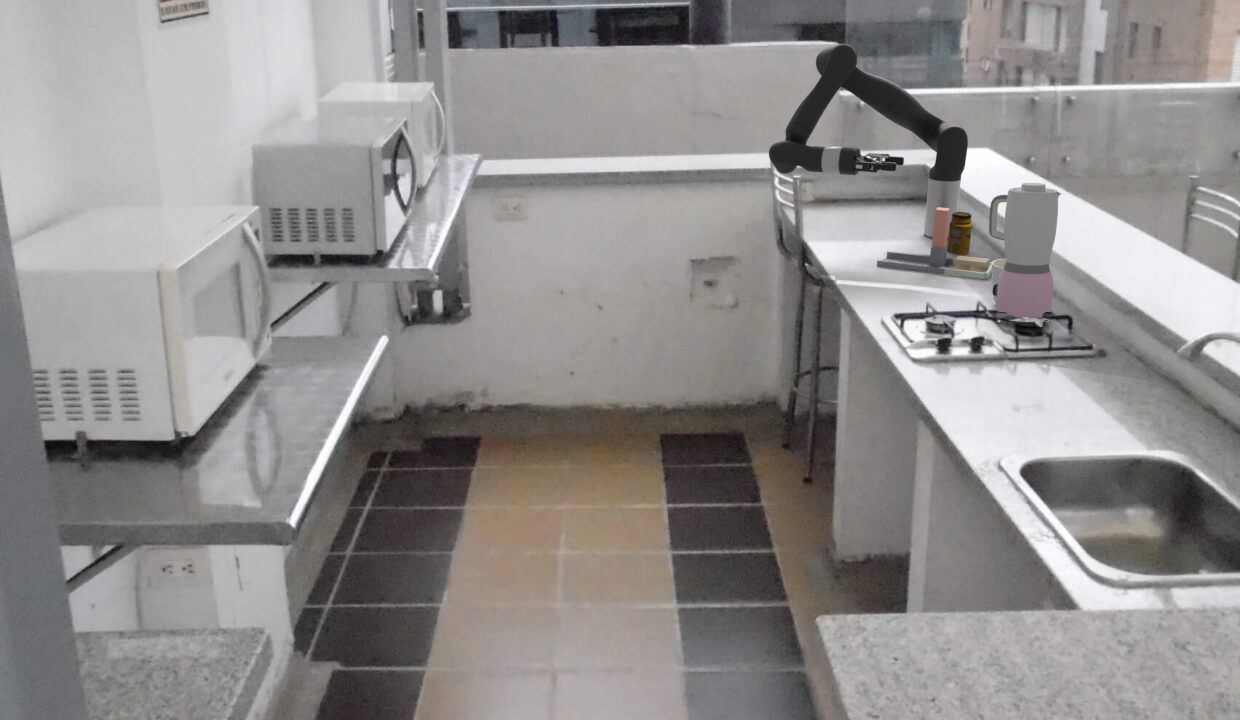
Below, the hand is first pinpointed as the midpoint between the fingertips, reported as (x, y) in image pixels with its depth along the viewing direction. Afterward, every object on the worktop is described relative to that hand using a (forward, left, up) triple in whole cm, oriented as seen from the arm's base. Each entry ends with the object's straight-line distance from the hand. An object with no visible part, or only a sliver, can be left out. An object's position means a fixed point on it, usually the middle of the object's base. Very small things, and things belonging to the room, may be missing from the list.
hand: (899, 164), depth 319 cm
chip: (+5, +24, -27) cm, 36 cm away
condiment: (-15, +14, -27) cm, 34 cm away
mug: (+27, +37, -27) cm, 54 cm away
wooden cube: (+5, +20, -27) cm, 34 cm away
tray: (+4, +22, -27) cm, 35 cm away
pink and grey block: (+4, +13, -26) cm, 30 cm away
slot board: (+4, +7, -27) cm, 28 cm away
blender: (+41, +39, -27) cm, 63 cm away
